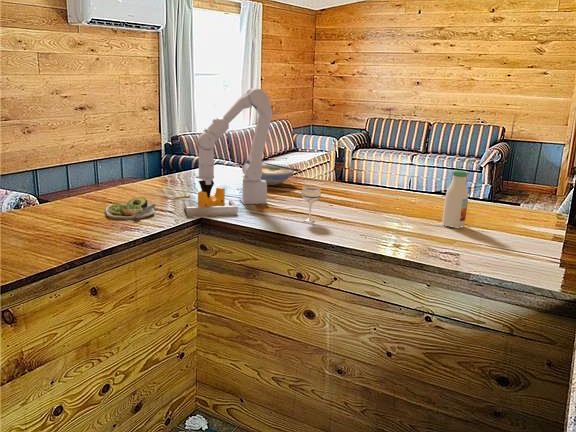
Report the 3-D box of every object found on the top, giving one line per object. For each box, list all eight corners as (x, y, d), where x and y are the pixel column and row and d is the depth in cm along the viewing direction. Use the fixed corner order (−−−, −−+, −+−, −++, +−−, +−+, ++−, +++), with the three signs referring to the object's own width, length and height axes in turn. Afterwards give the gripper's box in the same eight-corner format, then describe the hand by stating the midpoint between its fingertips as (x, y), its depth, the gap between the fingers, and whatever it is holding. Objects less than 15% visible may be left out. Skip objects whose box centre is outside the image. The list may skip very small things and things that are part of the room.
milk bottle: (452, 229, 184) (460, 173, 178) (437, 224, 190) (444, 169, 185) (468, 227, 187) (476, 172, 182) (453, 222, 194) (460, 168, 189)
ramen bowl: (232, 182, 245) (233, 164, 243) (269, 177, 260) (270, 160, 258) (267, 192, 227) (268, 173, 225) (305, 186, 242) (306, 168, 240)
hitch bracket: (231, 206, 201) (232, 199, 201) (237, 214, 191) (237, 206, 190) (184, 207, 197) (184, 200, 196) (187, 216, 186) (187, 208, 185)
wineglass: (309, 217, 192) (311, 184, 189) (323, 221, 187) (325, 188, 184) (296, 220, 187) (297, 187, 184) (310, 224, 183) (311, 190, 179)
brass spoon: (188, 196, 215) (188, 194, 215) (191, 197, 213) (191, 195, 213) (173, 198, 211) (173, 196, 211) (176, 199, 210) (176, 197, 209)
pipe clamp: (216, 202, 207) (216, 186, 206) (224, 204, 205) (224, 188, 203) (194, 208, 198) (194, 191, 196) (203, 210, 195) (203, 193, 194)
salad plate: (161, 221, 180) (161, 208, 179) (106, 224, 174) (105, 210, 173) (155, 207, 197) (155, 195, 196) (105, 209, 192) (104, 197, 190)
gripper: (193, 161, 207) (193, 194, 210) (197, 168, 193) (197, 203, 197) (211, 161, 209) (211, 194, 212) (216, 168, 195) (216, 203, 199)
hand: (206, 199), depth 205 cm, fingers closed
